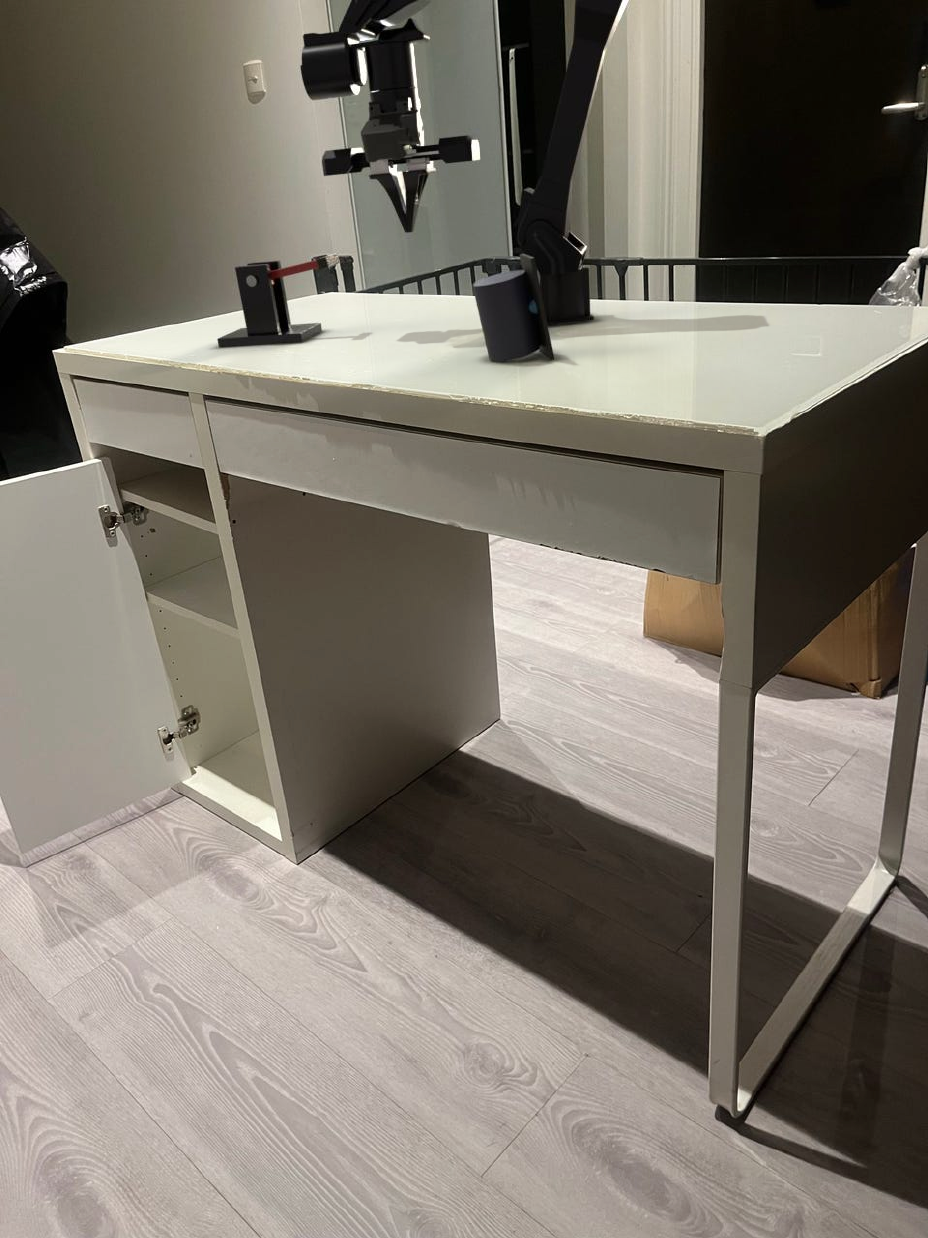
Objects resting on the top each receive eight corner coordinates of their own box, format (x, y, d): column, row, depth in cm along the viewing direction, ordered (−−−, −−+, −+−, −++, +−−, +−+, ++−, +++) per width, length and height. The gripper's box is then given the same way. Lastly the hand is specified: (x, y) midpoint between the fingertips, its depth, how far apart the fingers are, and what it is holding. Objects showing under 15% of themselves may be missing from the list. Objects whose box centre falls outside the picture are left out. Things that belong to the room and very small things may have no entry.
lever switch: (322, 331, 129) (310, 256, 124) (302, 342, 122) (289, 263, 117) (242, 336, 131) (228, 263, 127) (218, 347, 124) (202, 270, 120)
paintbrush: (341, 267, 123) (336, 248, 122) (329, 271, 118) (324, 252, 117) (261, 286, 126) (255, 268, 125) (246, 292, 122) (240, 273, 121)
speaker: (560, 346, 101) (544, 247, 97) (554, 360, 97) (538, 256, 92) (493, 357, 103) (475, 260, 99) (484, 371, 99) (464, 270, 94)
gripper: (296, 97, 105) (318, 244, 112) (456, 77, 101) (469, 231, 108) (327, 100, 114) (346, 236, 121) (475, 82, 110) (486, 223, 117)
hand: (409, 232), depth 117 cm, fingers closed
